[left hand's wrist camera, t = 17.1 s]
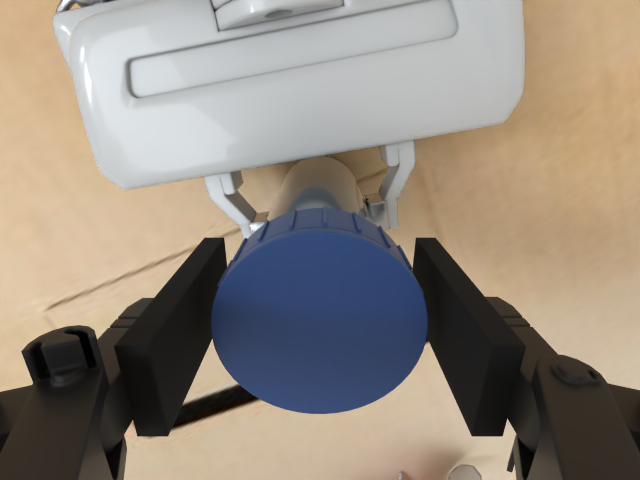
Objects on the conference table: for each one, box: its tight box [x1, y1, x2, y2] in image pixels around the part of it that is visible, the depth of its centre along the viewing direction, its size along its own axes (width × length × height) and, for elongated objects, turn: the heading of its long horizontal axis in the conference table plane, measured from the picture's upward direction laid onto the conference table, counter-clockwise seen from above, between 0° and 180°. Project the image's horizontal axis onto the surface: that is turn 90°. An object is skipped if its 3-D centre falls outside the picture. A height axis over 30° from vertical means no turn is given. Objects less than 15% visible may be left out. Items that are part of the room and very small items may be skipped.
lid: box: [211, 206, 428, 414], centre depth 11 cm, size 6×6×2 cm
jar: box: [266, 156, 376, 225], centre depth 18 cm, size 6×6×16 cm
